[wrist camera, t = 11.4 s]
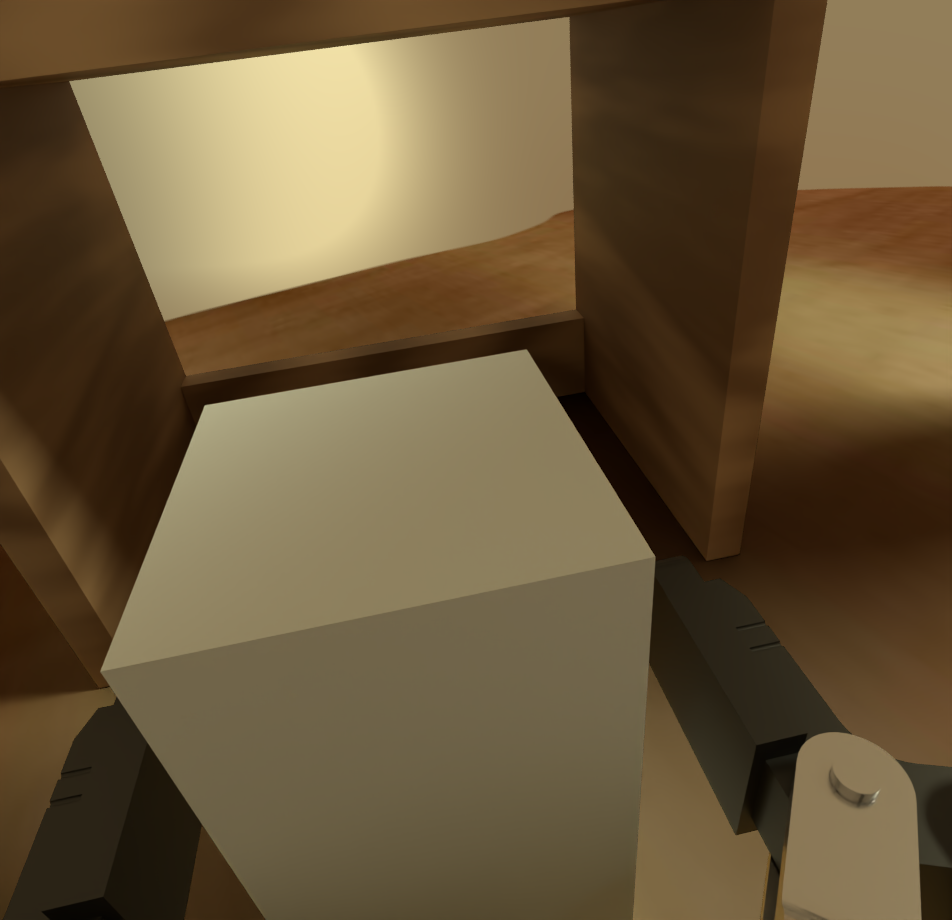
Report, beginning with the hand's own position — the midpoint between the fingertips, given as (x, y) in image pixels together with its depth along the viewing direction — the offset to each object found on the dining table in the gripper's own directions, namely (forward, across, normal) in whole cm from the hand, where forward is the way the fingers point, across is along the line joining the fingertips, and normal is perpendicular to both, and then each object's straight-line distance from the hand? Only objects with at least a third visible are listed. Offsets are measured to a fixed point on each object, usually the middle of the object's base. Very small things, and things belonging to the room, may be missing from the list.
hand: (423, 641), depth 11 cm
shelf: (+14, 0, +7) cm, 16 cm away
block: (-2, 0, +7) cm, 7 cm away
